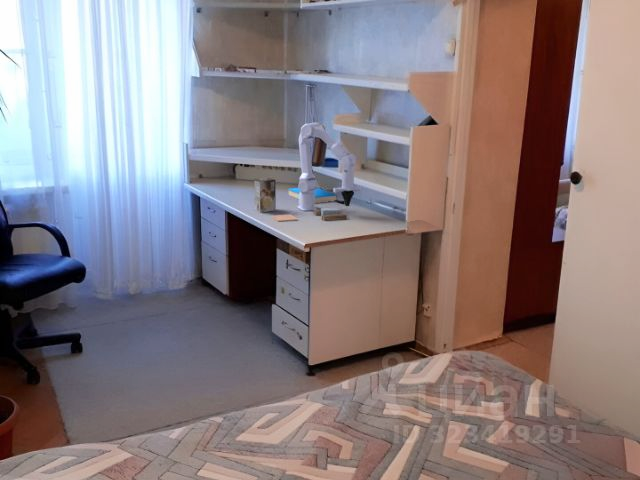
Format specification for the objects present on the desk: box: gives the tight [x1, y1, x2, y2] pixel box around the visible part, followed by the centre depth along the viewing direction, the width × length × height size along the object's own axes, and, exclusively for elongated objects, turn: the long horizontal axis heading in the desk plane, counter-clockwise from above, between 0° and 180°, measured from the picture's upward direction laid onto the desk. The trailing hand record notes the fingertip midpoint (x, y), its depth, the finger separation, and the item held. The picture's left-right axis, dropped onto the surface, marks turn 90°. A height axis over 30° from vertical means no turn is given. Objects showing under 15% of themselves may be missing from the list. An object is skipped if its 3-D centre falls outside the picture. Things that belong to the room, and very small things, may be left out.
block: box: [320, 207, 340, 217], centre depth 329 cm, size 5×8×4 cm, turn 101°
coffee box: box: [253, 177, 277, 213], centre depth 336 cm, size 9×6×16 cm
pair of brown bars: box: [313, 209, 348, 222], centre depth 329 cm, size 14×12×2 cm
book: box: [287, 187, 338, 204], centre depth 370 cm, size 17×4×25 cm
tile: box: [271, 213, 299, 223], centre depth 323 cm, size 10×10×1 cm
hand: (347, 205), depth 332 cm, fingers closed
